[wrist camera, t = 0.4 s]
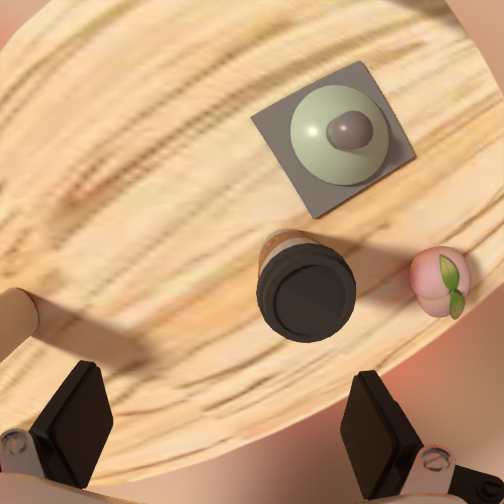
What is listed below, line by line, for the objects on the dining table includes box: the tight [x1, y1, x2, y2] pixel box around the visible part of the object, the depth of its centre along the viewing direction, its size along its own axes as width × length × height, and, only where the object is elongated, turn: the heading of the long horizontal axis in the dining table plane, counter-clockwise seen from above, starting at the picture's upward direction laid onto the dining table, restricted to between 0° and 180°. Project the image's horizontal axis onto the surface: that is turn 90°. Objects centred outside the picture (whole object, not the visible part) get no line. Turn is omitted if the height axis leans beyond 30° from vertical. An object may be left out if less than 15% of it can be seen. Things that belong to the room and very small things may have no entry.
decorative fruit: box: [409, 246, 471, 320], centre depth 35 cm, size 9×8×10 cm
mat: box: [250, 61, 415, 219], centre depth 35 cm, size 16×14×1 cm
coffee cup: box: [256, 229, 356, 343], centre depth 31 cm, size 8×8×15 cm
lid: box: [290, 85, 388, 185], centre depth 32 cm, size 12×12×6 cm
